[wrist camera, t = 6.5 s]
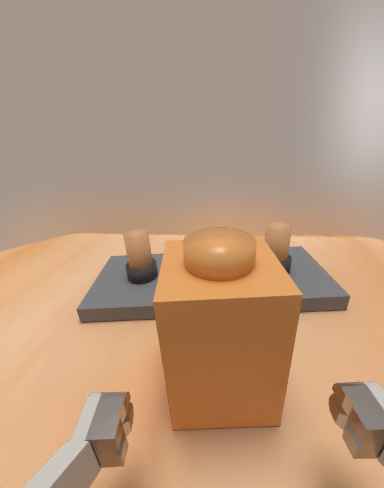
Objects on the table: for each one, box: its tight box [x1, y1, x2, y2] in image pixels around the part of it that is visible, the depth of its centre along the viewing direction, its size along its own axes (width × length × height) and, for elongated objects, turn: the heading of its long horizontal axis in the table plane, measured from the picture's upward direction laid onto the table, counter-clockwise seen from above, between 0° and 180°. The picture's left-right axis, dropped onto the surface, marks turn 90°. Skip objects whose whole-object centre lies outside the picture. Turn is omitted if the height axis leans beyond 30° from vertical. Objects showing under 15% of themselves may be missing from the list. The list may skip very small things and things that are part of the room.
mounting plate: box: [77, 221, 350, 322], centre depth 25 cm, size 24×10×6 cm, turn 90°
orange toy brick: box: [153, 227, 303, 430], centre depth 14 cm, size 6×6×10 cm
